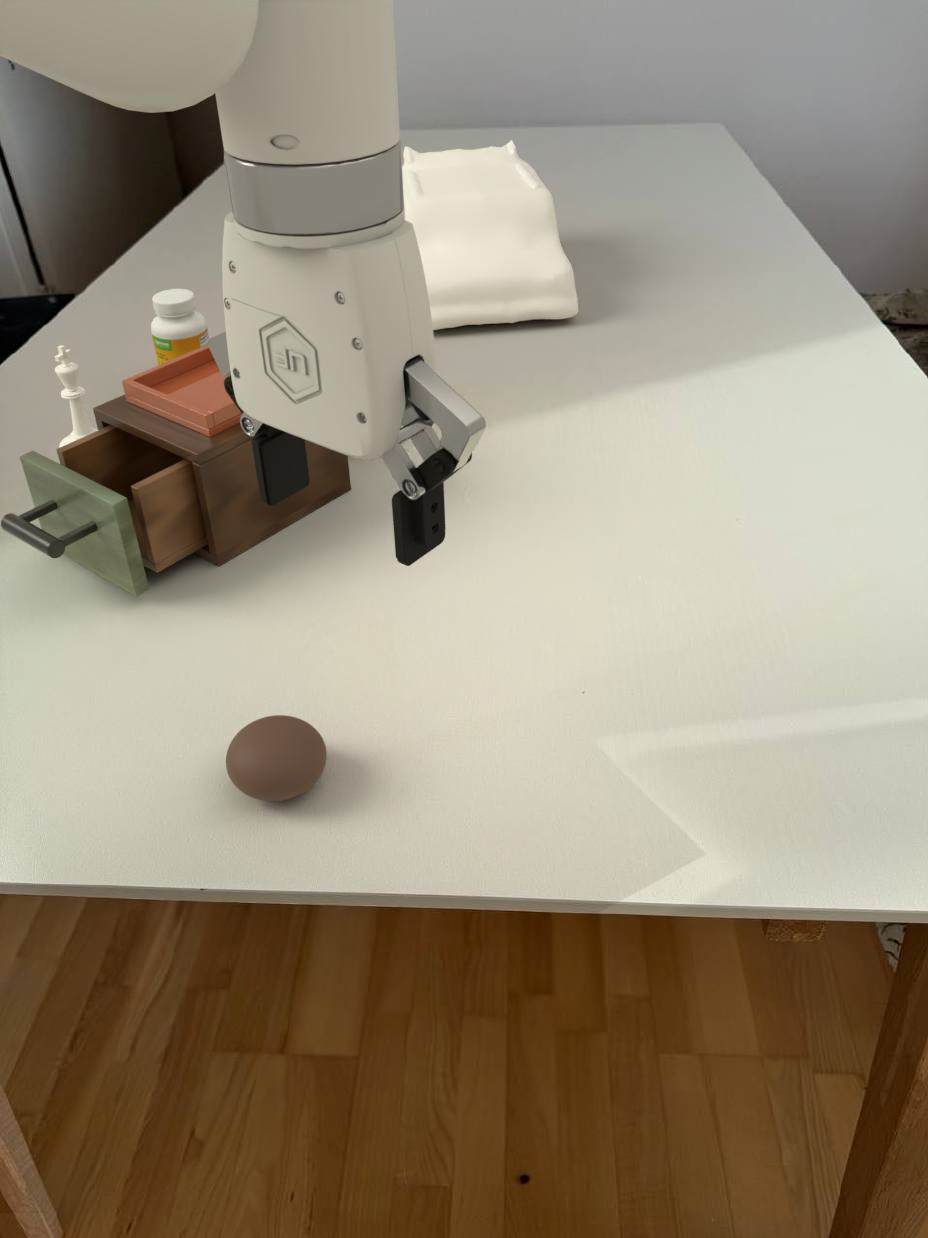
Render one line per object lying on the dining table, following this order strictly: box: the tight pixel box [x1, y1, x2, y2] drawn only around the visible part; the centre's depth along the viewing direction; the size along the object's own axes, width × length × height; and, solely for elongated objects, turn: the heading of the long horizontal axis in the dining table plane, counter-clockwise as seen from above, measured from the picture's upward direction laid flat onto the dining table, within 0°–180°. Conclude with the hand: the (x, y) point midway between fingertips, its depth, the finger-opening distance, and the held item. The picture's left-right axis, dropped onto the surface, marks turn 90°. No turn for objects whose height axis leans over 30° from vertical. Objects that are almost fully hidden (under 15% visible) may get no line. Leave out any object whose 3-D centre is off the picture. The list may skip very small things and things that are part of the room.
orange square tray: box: [121, 345, 242, 437], centre depth 87 cm, size 10×10×2 cm
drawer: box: [0, 425, 208, 598], centre depth 84 cm, size 18×12×8 cm, turn 141°
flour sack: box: [402, 139, 579, 331], centre depth 128 cm, size 19×30×13 cm, turn 8°
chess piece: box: [54, 344, 98, 448], centre depth 98 cm, size 5×5×10 cm
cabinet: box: [92, 393, 352, 567], centre depth 90 cm, size 15×13×10 cm
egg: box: [225, 714, 328, 802], centre depth 65 cm, size 6×6×4 cm
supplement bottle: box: [150, 288, 210, 366], centre depth 108 cm, size 5×5×10 cm
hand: (351, 522), depth 58 cm, fingers open, 9 cm apart
